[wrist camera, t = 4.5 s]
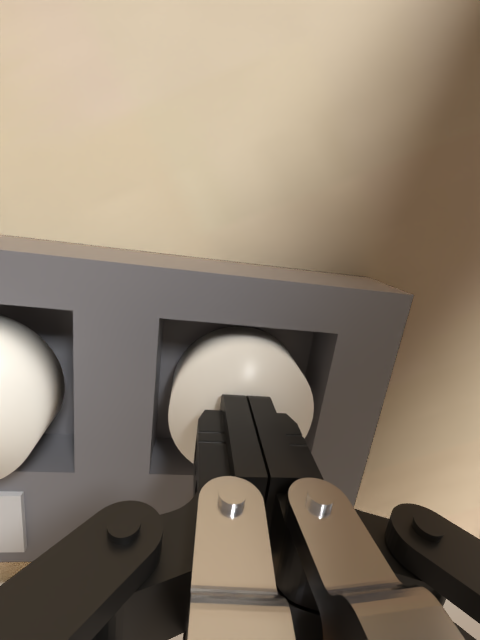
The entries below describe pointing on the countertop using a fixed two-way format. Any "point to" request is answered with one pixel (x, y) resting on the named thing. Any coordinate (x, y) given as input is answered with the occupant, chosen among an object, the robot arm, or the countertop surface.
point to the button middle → (25, 392)
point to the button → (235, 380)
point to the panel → (159, 366)
